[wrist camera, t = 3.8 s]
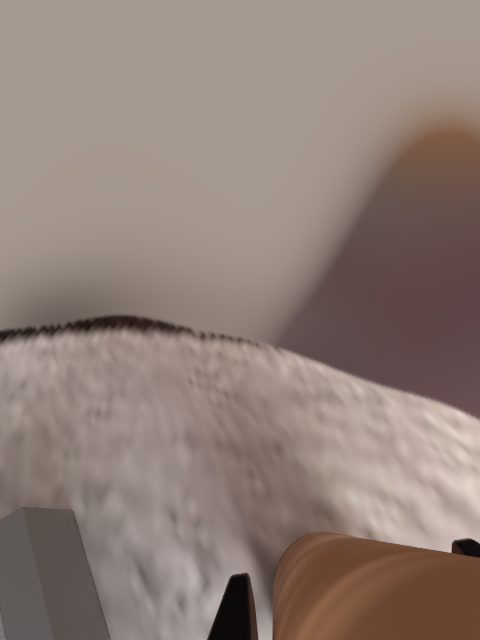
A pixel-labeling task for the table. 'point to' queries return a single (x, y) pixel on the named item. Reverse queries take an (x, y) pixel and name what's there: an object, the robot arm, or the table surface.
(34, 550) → the socket block
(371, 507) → the table surface
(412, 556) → the peg
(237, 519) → the table surface
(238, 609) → the robot arm
